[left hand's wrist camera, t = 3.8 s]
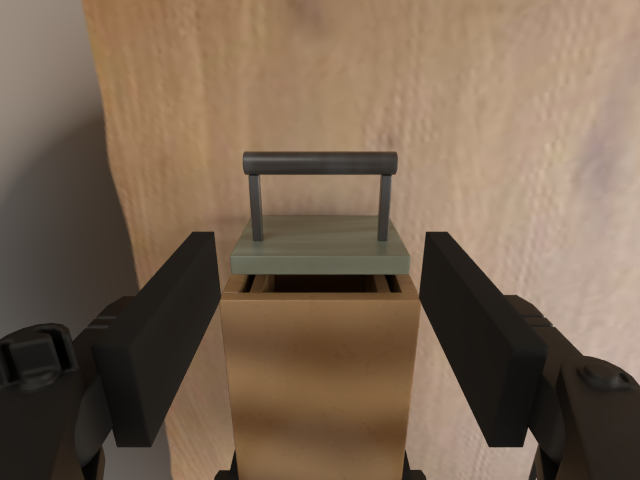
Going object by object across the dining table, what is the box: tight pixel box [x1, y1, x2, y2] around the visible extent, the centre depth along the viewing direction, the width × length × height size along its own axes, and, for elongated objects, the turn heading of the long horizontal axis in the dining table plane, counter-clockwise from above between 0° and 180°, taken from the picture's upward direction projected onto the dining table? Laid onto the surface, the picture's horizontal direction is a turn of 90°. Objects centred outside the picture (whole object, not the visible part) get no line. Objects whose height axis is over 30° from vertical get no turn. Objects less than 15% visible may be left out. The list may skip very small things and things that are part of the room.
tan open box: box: [219, 274, 421, 480], centre depth 30 cm, size 19×12×10 cm, turn 0°
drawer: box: [230, 152, 411, 293], centre depth 28 cm, size 23×10×8 cm, turn 0°
